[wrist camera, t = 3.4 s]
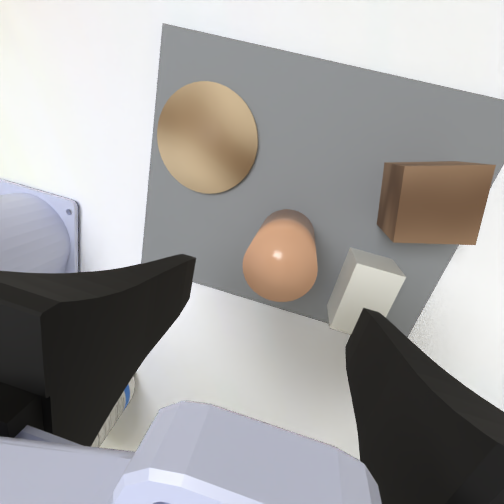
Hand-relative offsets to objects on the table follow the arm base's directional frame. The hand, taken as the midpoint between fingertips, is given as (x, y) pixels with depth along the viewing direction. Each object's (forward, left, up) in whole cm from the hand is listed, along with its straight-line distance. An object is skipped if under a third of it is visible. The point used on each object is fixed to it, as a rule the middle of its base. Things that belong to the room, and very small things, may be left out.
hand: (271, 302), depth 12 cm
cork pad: (+5, +7, -10) cm, 13 cm away
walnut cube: (+5, -7, -10) cm, 13 cm away
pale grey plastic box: (-2, -6, -10) cm, 11 cm away
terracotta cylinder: (0, 0, -10) cm, 10 cm away
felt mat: (+2, 0, -10) cm, 10 cm away
